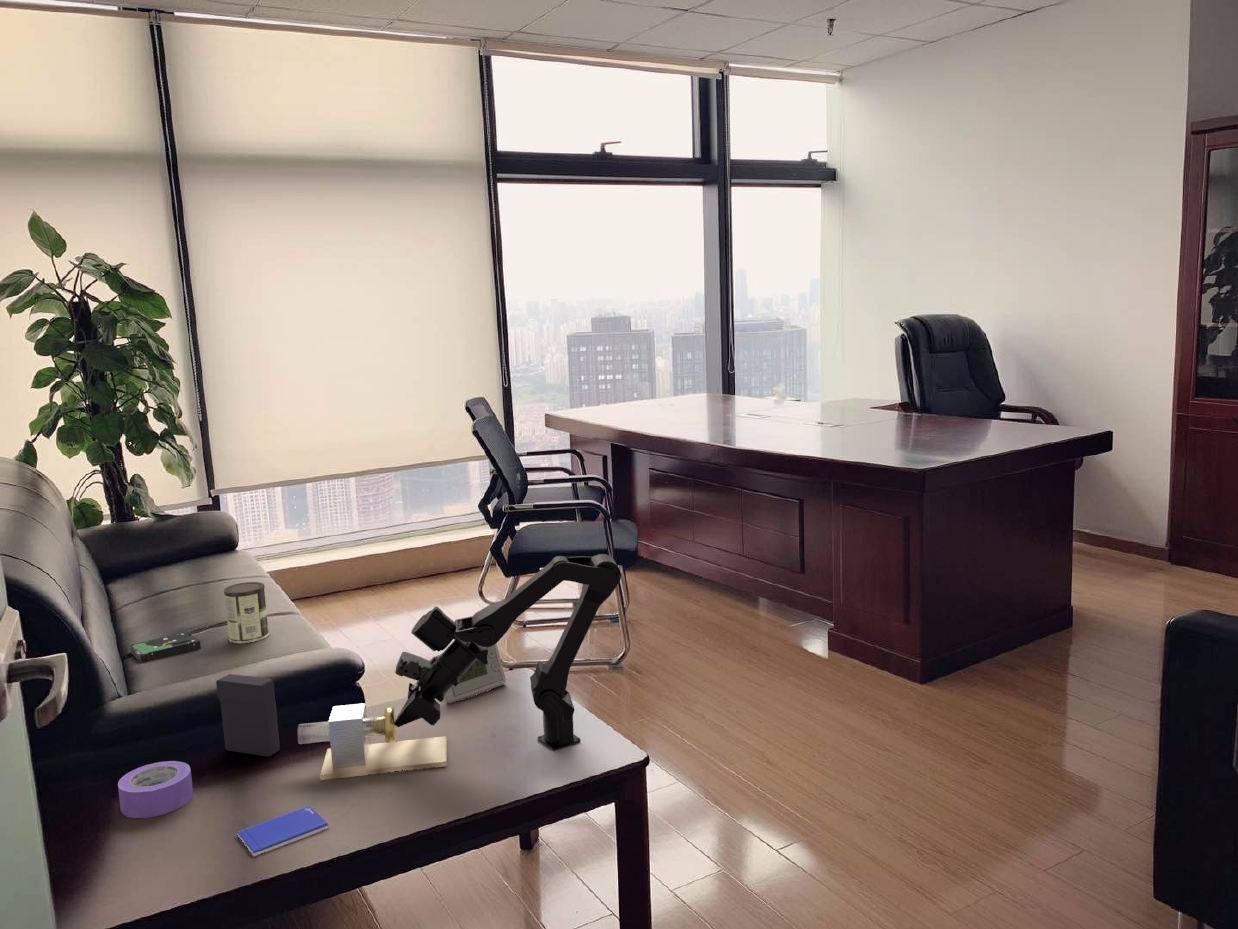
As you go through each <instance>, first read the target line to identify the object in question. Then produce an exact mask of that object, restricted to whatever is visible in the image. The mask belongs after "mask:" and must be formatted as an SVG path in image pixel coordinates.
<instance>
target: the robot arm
mask: <svg viewBox="0 0 1238 929" xmlns="http://www.w3.org/2000/svg"><path fill="white" fill-rule="evenodd" d="M621 579H622V572H621V569H620V568H619V566H618V564H617V563H616V562H615V560H614V559H613V558H612V556H610V555H609V554H605V553H601V554H600V553H598V554H597V555H593V556H586V555H585V556H583V555H581V556H563V555H558V556H555V557H553V558H552V559H551V561H550V562H549V563H548V564H547V565H545V566H544V567H543V568H541V569H540V570H539V571H538V572H537V573H535V574H534V575H533V576H531V577H530V578H529V579H527V581H525V582H524V583H523V584H521V585H520V586H519V587H517V588H516V589H515V590H514V591H513V592H511V593H510V594H509V595H507V596H506V597H505V598H503V599H501V600H499V601H497V602H494V603H491V604H489V605H487V606H485V607H484V608H481V609H480V610H478V611H477V612H475V613H474V614H473V615H472V616H467V617H462V618H458V619H455V620H453V619H451V618H450V617H449V616H448V615H446V614H445V613H444V611H443V610H442V609H441V608H439V606H434V607H433V608H432V609H430V610H429V611H428V612H426V614H423V615H422V616H420V618H419V619H418V620H417V622H416V623H415V624H414V626H413V627H412V629H411V634H412V635H413V637H415V638H416V639H418V640H419V641H420V642H422V643H423V644H424V645H425V646H426V647H427V648H428V649H430V650H431V651H432V652H436V651H437V652H441V651H443V652H442V653H440V654H441V655H440V654H439V655H440V656H439V657H438V655H436V656H433V657H432V658H431V659H430V660H428V659H425V658H423V657H421V656H419V655H416V654H413V653H410V652H407V651H402V652H401V654H400V657H399V659H398V661H397V663H396V665H395V666H396V667H395V671H394V673H395V674H396V675H397V676H399V677H405V678H408V679H412V680H414V681H415V683H411V682H409V683H408V691H407V699H406V701H405V703H404V705H403V706H402V708H401V709H400V712H399V713H398V715H397V717H396V720H395V723H394V724H395V725H396V728H401V727H403V726H405V725H407V724H410V723H412V722H414V721H417V720H419V719H423V720H424V721H425V722H426V723H427V724H429V725H430V726H432V727H433V726H435V725H436V724H437V723H438V722H439V720H441V703H442V702H443V701H444V700H445V693H446V692H447V691H448V690H449V689H450V688H451V687H452V686H453V685H454V686H455V687H456V686H457V685H458V683H459V678H460V677H461V676H462V675H463V674H464V673H465V672H466V671H467V670H468V669H469V667H470V666H471V665H472V664H473V663H474V662H475V661H476V660H477V659H479V660H480V661H481V662H482V663H483V664H485V665H487V664H488V659H487V655H488V647H491V646H493V645H495V644H497V643H499V641H501V639H502V638H503V637H504V636H505V634H506V633H507V632H508V631H509V629H511V627H512V625H513V623H514V622H515V621H516V620H517V619H518V618H519V617H520V616H521V615H522V614H524V612H527V610H529V608H531V607H532V606H533V605H535V604H536V603H537V602H538V601H540V600H541V599H542V598H543V597H545V596H546V595H547V594H548V593H550V592H551V591H552V590H553V589H555V588H556V587H557V586H558V585H560V584H561V583H562V582H565V581H566V582H572V583H577V584H582V586H581V592H580V596H579V597H578V600H577V602H576V605H575V606H574V609H573V610H572V613H571V615H570V617H569V619H568V621H567V623H566V625H565V628H564V629H563V632H562V634H561V636H560V638H559V639H558V642H557V645H556V646H555V648H554V650H553V653H552V655H551V656H550V658H549V659H548V660H547V661H546V662H545V663H543V662H541V661H538V662H537V664H536V666H535V670H534V672H533V674H532V675H530V677H529V681H530V690H531V696H532V700H533V702H534V705H535V707H536V708H537V709H539V710H540V711H542V724H543V725H542V726H543V734H542V735H539V736H537V741H539V742H540V743H542V744H543V745H544V746H546V747H547V748H548V749H550V750H552V751H556V750H560V749H562V748H566V747H569V746H573V745H575V744H577V743H580V742H581V738H580V737H579V736H577V735H576V734H575V733H574V713H575V706H574V703H573V700H572V697H571V694H570V692H569V691H568V690H567V686H568V680H569V679H568V678H569V672H570V669H571V667H572V665H573V663H574V661H575V659H576V656H577V654H578V653H579V651H580V648H581V647H582V644H583V642H584V640H585V638H586V636H587V634H588V631H589V630H590V627H591V625H592V623H593V621H594V619H595V617H596V615H597V613H598V610H599V608H600V607H601V606H602V604H603V603H605V601H606V600H607V599H609V598H610V597H611V596H612V594H613V592H614V591H615V590H616V588H617V587H618V585H619V584H620V583H621V582H620V581H621ZM480 646H481V647H480Z"/></svg>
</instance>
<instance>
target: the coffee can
mask: <svg viewBox="0 0 1238 929" xmlns="http://www.w3.org/2000/svg"><path fill="white" fill-rule="evenodd" d="M265 586H266V585H265V584H264V583H263V582H259V581H247V582H246V581H245V582H239V583H235V584H231V585H228V586H226V587H224V588H223V590H222V591H223V593H224V602H225V611H226V613H225V614H226V619H227V620H226V621H227V630H228V641H229V642H230V643H232V642H233V643H232V644H251V643H256V642H258V641H262V640H264V639H266V638H268V637H269V635H270V632H269V623H268V613H267V612H268V611H267V604H266V603H267V602H266V593H265ZM255 641H256V642H255ZM250 642H251V643H250Z"/></svg>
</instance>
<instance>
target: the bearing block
mask: <svg viewBox="0 0 1238 929" xmlns="http://www.w3.org/2000/svg"><path fill="white" fill-rule="evenodd" d="M364 718H367V709H366V703H354V704H345V705H335V706H332V710H331V713H330V716H329V718H328V719H329V720H328V721H329V732H330V741H329V743H330V748H331V755H332V767H333V769H336V768H345V767H354V766H363V765H366V760H367V755H368V750H369V747H368V744H369V737H364V729H363V719H364Z"/></svg>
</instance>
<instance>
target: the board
mask: <svg viewBox="0 0 1238 929" xmlns="http://www.w3.org/2000/svg"><path fill="white" fill-rule="evenodd" d="M447 739H448V738H447V736H434V737H427V738H425V737H424V738H418V739H417V738H416V739H407V740H398V741H396V742H392V743H386V742H378V743H368V747H369V750H368V755H367V760H366V765H363V766H354V767H345V768H336V769H333V767H332V755H331V747H330V748H327V749H326V753H325V756H324V761H323V764H322V766H321V767H322V768H321V771H320V774H319V775H320V776H319V778H320V781H324V780H325V781H326V780H333V779H335V780H336V779H343V778H352V777H353V778H354V777H361V776H368V774H371V775H375V774H374V773H380V774H387V773H388V772H390V773H395V772H394V771H399V772H406V770H408V771H414V770H413V769H417V770H424V769H423V768H426V769H431V768H430V767H435V768H441V767H447V760H448V758H447V754H448V753H447V752H448V751H447V748H448V746H447V745H448V744H447V742H448V740H447ZM401 770H403V771H401ZM404 770H405V771H404Z"/></svg>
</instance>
